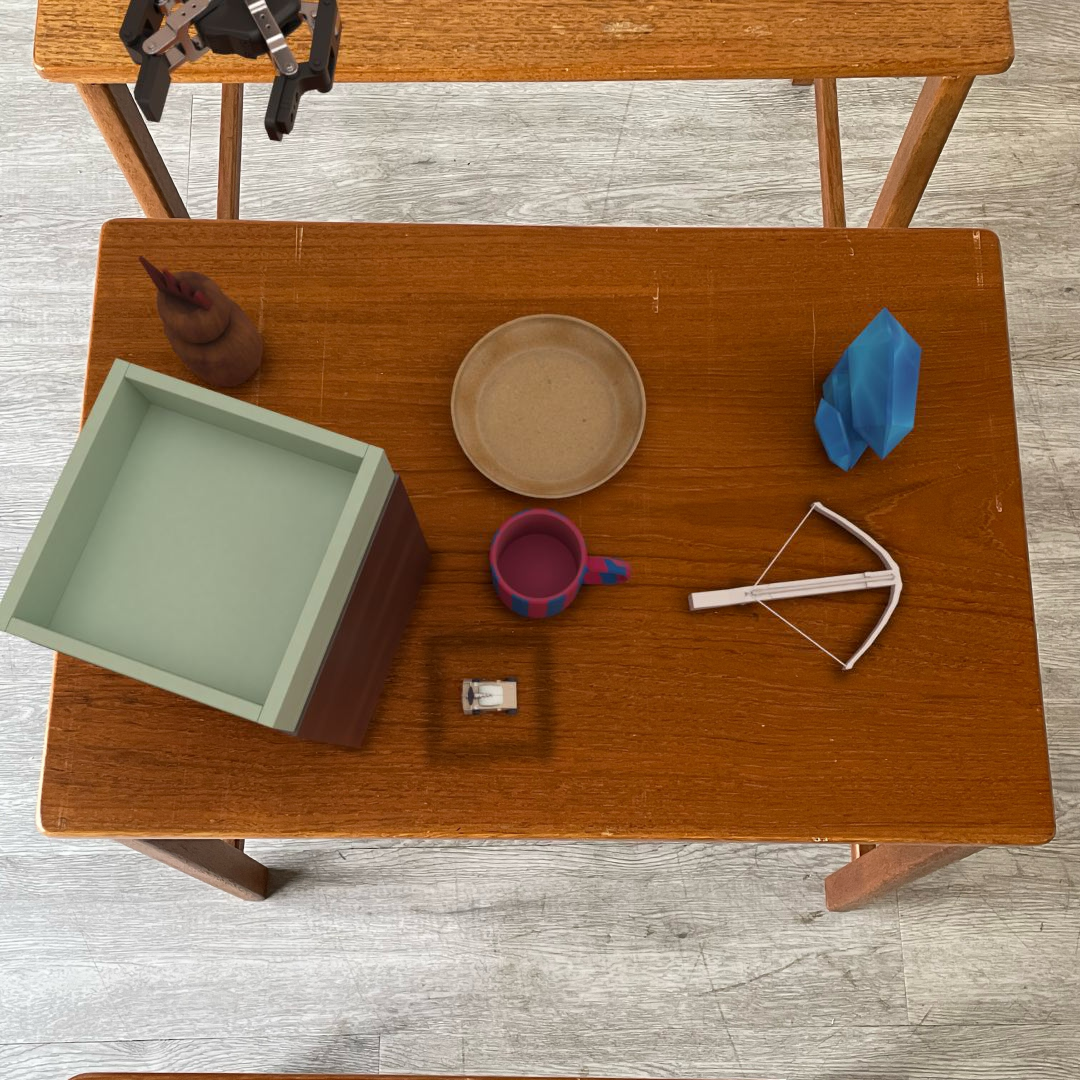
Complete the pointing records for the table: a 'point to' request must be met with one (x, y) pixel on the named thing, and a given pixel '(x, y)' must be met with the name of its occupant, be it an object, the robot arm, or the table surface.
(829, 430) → the crystal
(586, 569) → the cup
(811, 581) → the crossbow
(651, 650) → the table surface
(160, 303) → the wooden figurine
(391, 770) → the table surface
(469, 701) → the toy car
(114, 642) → the bin
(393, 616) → the plinth
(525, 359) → the plant saucer
